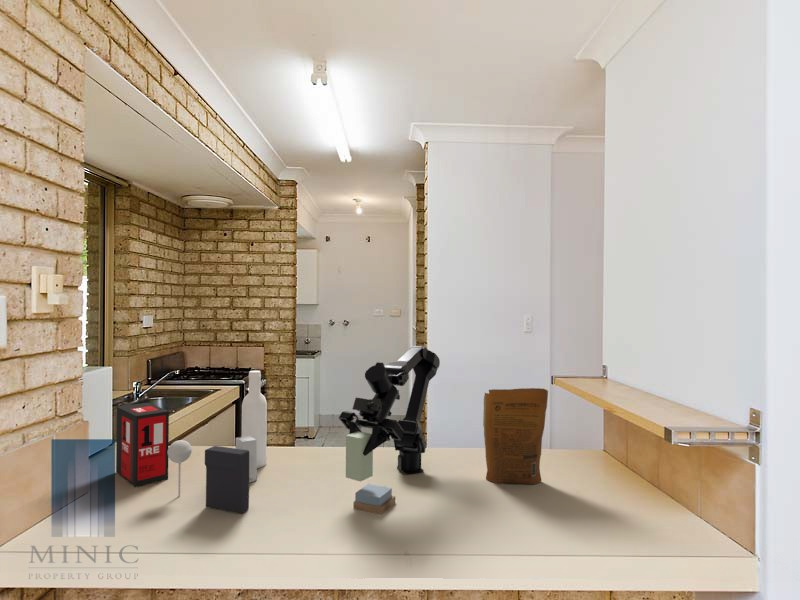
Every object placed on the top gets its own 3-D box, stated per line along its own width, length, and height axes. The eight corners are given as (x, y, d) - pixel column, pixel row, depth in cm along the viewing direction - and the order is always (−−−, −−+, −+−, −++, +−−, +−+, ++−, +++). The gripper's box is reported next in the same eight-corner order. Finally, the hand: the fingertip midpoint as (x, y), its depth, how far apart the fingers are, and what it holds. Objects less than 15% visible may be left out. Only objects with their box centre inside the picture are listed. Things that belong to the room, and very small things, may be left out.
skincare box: (257, 480, 144) (258, 439, 144) (242, 484, 141) (243, 441, 141) (249, 474, 149) (249, 434, 149) (234, 478, 146) (235, 437, 146)
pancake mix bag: (549, 487, 141) (551, 390, 141) (483, 485, 142) (484, 388, 142) (544, 479, 148) (545, 386, 148) (480, 476, 149) (481, 384, 149)
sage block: (358, 471, 132) (358, 431, 132) (372, 475, 130) (372, 434, 130) (345, 477, 128) (346, 435, 128) (360, 481, 125) (360, 438, 125)
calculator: (250, 508, 125) (251, 449, 125) (240, 515, 121) (240, 454, 121) (215, 502, 128) (216, 444, 128) (203, 508, 124) (204, 449, 124)
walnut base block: (368, 499, 133) (368, 490, 133) (395, 504, 130) (395, 496, 130) (353, 510, 126) (353, 501, 126) (381, 516, 122) (381, 507, 122)
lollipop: (196, 494, 133) (197, 439, 133) (178, 502, 128) (179, 444, 128) (180, 490, 136) (180, 436, 136) (161, 498, 130) (162, 441, 130)
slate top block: (368, 492, 132) (368, 483, 132) (391, 496, 129) (391, 488, 129) (355, 501, 126) (355, 492, 126) (379, 506, 123) (379, 497, 123)
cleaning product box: (116, 472, 149) (116, 406, 149) (147, 465, 156) (147, 402, 156) (135, 487, 138) (136, 416, 138) (168, 479, 144) (168, 411, 144)
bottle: (271, 462, 160) (272, 370, 160) (258, 470, 153) (259, 373, 153) (249, 459, 162) (250, 369, 162) (235, 467, 155) (236, 372, 155)
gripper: (343, 382, 137) (314, 429, 128) (397, 389, 127) (370, 442, 118) (361, 405, 144) (335, 452, 135) (414, 414, 133) (389, 466, 124)
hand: (356, 452), depth 128 cm, fingers closed on sage block, 5 cm apart
